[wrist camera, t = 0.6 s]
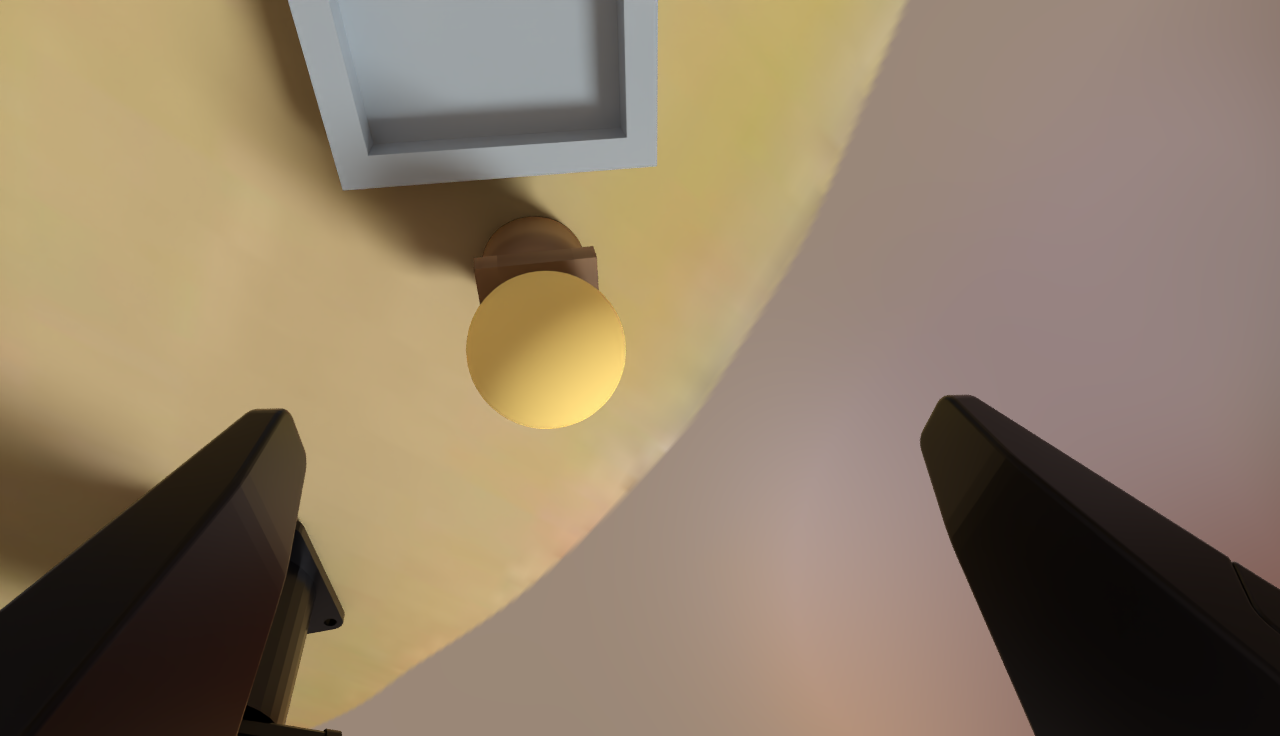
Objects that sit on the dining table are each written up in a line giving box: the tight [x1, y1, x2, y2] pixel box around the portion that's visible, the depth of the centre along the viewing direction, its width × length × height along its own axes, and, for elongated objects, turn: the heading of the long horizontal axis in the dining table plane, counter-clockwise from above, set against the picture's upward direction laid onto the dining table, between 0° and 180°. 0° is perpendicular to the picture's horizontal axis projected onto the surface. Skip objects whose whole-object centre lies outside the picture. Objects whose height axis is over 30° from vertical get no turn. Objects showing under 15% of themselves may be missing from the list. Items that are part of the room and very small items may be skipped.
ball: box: [466, 271, 626, 429], centre depth 16 cm, size 4×4×4 cm
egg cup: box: [474, 216, 599, 305], centre depth 19 cm, size 3×3×3 cm
